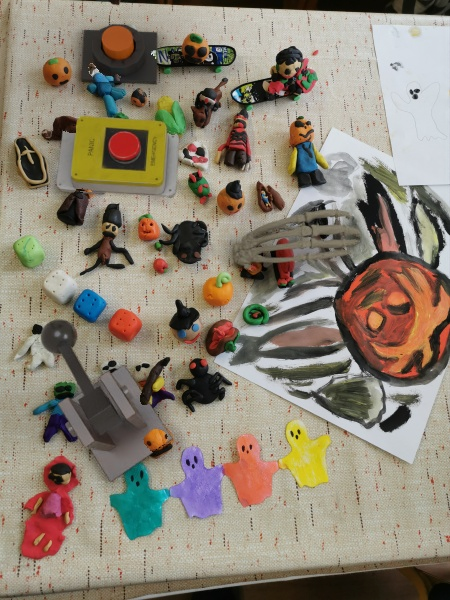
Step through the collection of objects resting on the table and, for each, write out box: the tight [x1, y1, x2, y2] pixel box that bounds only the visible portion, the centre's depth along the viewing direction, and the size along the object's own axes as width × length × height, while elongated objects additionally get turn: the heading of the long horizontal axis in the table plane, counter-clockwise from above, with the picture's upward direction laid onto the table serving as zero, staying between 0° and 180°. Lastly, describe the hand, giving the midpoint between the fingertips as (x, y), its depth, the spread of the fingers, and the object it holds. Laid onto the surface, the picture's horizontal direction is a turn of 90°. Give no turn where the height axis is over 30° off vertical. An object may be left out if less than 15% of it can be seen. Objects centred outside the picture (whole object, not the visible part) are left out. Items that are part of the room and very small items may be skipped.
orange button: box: [102, 26, 134, 60], centre depth 74 cm, size 4×4×2 cm
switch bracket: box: [57, 364, 173, 483], centre depth 55 cm, size 10×8×17 cm
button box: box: [80, 23, 158, 85], centre depth 75 cm, size 10×8×2 cm
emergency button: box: [55, 115, 180, 198], centre depth 70 cm, size 9×4×15 cm
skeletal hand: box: [232, 208, 362, 273], centre depth 68 cm, size 6×17×6 cm, turn 103°
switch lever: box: [40, 318, 122, 435], centre depth 53 cm, size 15×4×4 cm
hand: (116, 1), depth 64 cm, fingers closed
